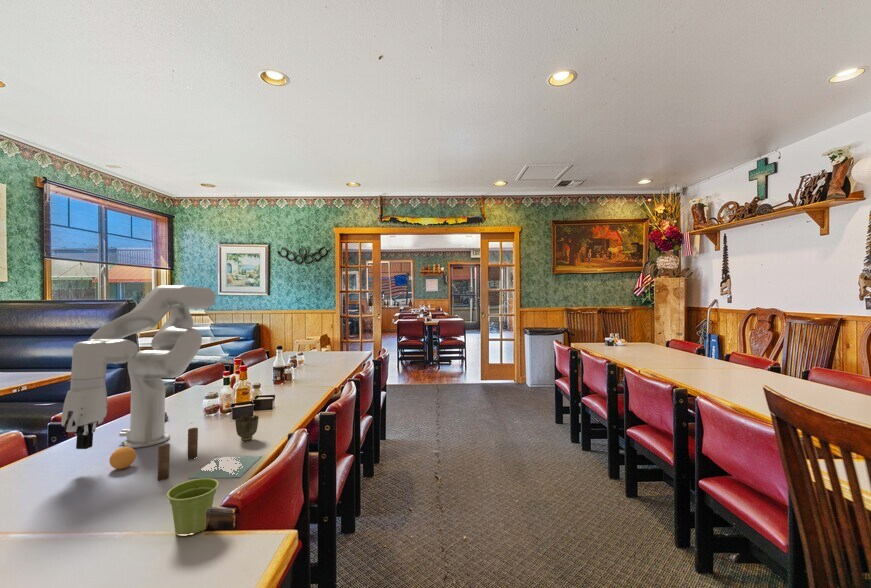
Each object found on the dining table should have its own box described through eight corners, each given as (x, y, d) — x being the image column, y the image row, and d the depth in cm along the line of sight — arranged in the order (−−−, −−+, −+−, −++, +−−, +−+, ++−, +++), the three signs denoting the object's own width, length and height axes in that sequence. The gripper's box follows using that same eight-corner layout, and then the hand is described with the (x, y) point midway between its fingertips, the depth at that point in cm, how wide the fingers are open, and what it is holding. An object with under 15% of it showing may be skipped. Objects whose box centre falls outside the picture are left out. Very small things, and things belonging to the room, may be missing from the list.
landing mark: (188, 478, 103) (188, 477, 103) (216, 457, 117) (216, 456, 117) (239, 477, 103) (239, 477, 103) (261, 456, 117) (261, 456, 117)
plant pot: (182, 517, 85) (183, 478, 85) (225, 515, 85) (226, 477, 86) (155, 543, 75) (156, 500, 75) (204, 541, 76) (204, 498, 76)
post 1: (155, 480, 102) (155, 447, 102) (161, 475, 104) (162, 443, 104) (165, 480, 102) (165, 447, 102) (171, 475, 104) (172, 443, 104)
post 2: (185, 459, 115) (186, 430, 115) (190, 456, 117) (191, 427, 117) (194, 459, 115) (194, 430, 115) (199, 456, 117) (199, 427, 118)
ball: (103, 472, 106) (103, 451, 106) (120, 463, 112) (120, 443, 112) (125, 472, 106) (125, 451, 106) (141, 463, 112) (141, 443, 112)
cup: (262, 437, 134) (263, 414, 134) (250, 445, 127) (250, 421, 127) (243, 436, 135) (243, 414, 135) (230, 444, 128) (230, 420, 128)
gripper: (97, 379, 116) (93, 439, 115) (49, 388, 101) (44, 457, 100) (122, 379, 116) (118, 439, 115) (78, 388, 101) (73, 457, 100)
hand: (84, 447), depth 108 cm, fingers closed
